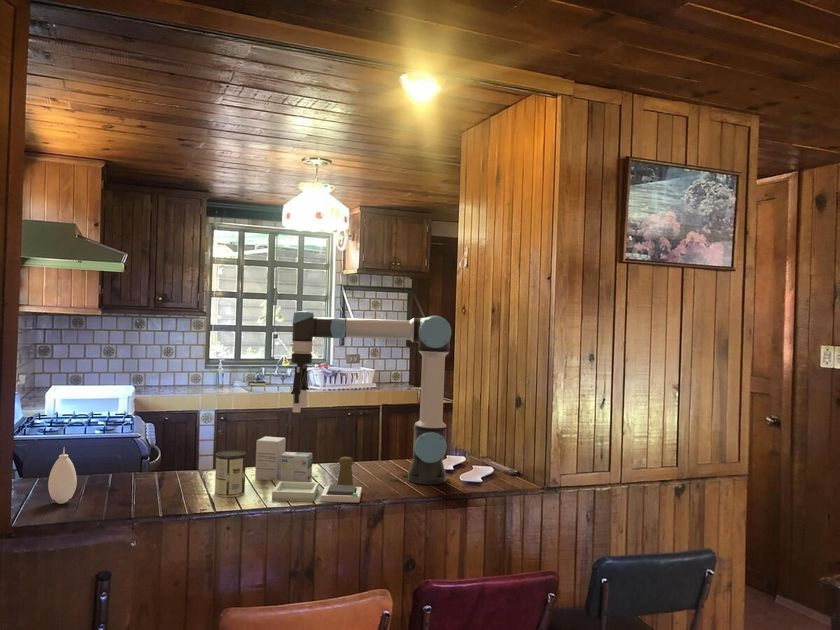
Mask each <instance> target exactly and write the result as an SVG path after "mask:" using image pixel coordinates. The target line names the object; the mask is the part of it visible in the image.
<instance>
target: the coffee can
mask: <svg viewBox="0 0 840 630" xmlns="http://www.w3.org/2000/svg"><path fill="white" fill-rule="evenodd" d="M246 462H247V452H246V451H243V450H222V451H217V452H216V453H215V475H214V476H215V477H214V479H215V481H214V496H215V497H219V498H236V497H241V496H243V495H245V493H246V491H245V490H246V466H247V465H246V464H247V463H246Z"/></svg>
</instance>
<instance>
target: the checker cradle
mask: <svg viewBox="0 0 840 630" xmlns="http://www.w3.org/2000/svg"><path fill="white" fill-rule="evenodd" d="M329 487H330V485H325V486H324V488H323V491H322V493H321V494H320V502H325V503H326V502H329V503H331V502H332V503H333V502H334V503H360V500H361V497H362V486H356V490H355V493H353V495H328V489H329Z"/></svg>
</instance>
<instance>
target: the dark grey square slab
mask: <svg viewBox="0 0 840 630" xmlns="http://www.w3.org/2000/svg"><path fill="white" fill-rule="evenodd" d="M329 486H330V487H329V489H328V495H353V493H355V490H356V487H357V485H355V484H353V485H337V484H330V485H329Z"/></svg>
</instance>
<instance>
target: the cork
mask: <svg viewBox="0 0 840 630" xmlns="http://www.w3.org/2000/svg"><path fill="white" fill-rule="evenodd" d="M338 464H339V473H338V478H337V484H336V485H354V482H353V481H354V480H353V479H354V478H353V470H352V469H353V468H352V466H353V465H354V459H353V458H352V457H351V456H342V457H340V458H339V460H338Z"/></svg>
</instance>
